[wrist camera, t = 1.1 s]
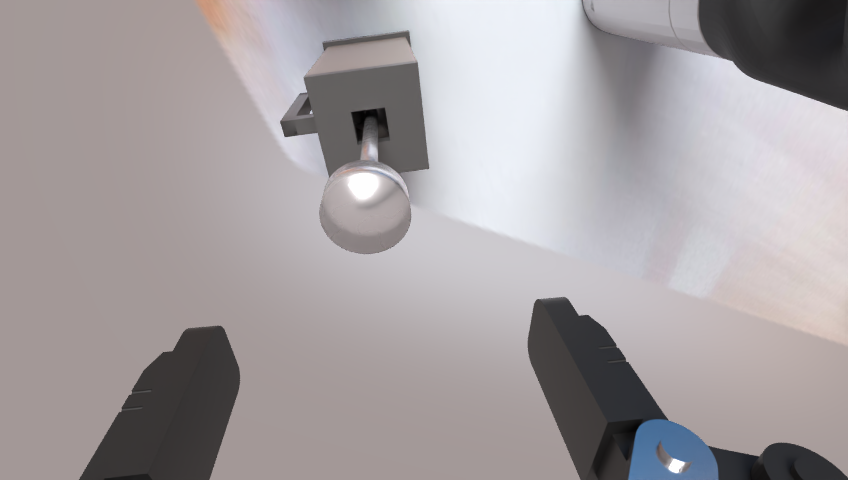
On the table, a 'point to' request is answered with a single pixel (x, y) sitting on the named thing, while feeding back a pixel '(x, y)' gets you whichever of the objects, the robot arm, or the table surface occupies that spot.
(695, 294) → the table surface
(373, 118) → the plunger
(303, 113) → the gray handled box
